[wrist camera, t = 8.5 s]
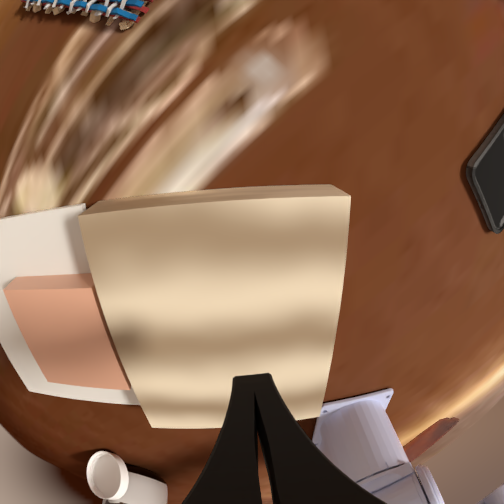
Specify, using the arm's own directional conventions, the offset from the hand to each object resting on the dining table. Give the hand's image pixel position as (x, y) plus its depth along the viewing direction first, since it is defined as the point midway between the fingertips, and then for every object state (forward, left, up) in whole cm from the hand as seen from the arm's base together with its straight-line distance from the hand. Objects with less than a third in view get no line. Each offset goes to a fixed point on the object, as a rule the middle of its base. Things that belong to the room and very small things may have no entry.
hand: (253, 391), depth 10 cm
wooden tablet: (-40, -24, -10) cm, 48 cm away
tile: (-3, +13, -9) cm, 16 cm away
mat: (-3, +16, -9) cm, 19 cm away
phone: (+10, -25, -10) cm, 28 cm away
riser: (-3, +1, -9) cm, 10 cm away
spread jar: (-29, +17, -10) cm, 35 cm away
